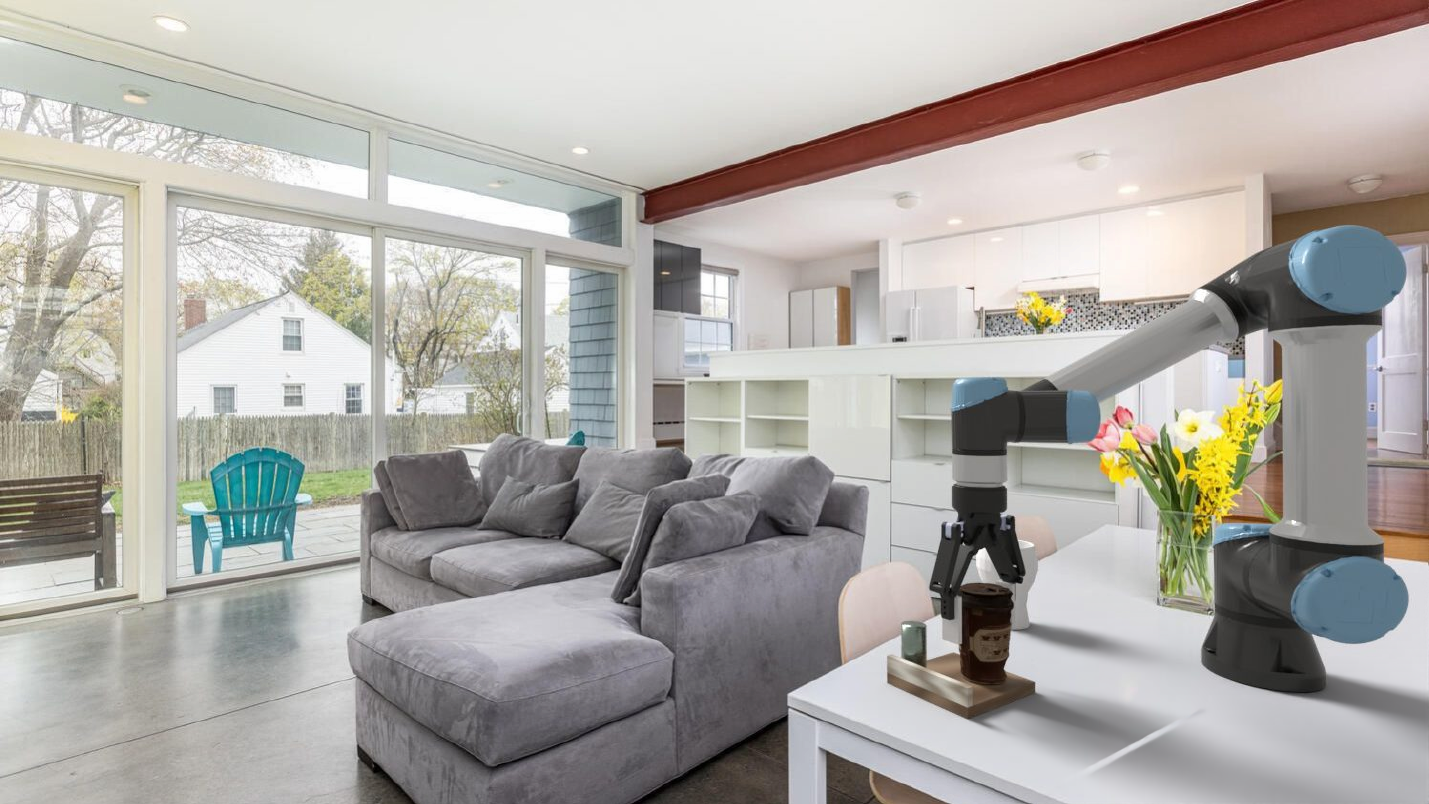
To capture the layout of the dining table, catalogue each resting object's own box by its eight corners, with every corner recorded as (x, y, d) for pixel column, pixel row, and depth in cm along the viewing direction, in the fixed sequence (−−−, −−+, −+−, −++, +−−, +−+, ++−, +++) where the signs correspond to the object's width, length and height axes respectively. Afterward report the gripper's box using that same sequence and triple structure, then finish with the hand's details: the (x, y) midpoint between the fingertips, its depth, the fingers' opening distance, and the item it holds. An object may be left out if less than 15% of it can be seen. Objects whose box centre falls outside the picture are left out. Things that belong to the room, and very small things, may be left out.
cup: (1030, 636, 122) (1030, 551, 122) (968, 625, 128) (968, 544, 128) (1044, 621, 130) (1043, 541, 130) (985, 611, 137) (985, 535, 137)
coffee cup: (1030, 683, 98) (1030, 592, 98) (985, 694, 95) (985, 599, 95) (983, 662, 106) (983, 577, 106) (940, 671, 103) (940, 583, 103)
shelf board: (1035, 692, 99) (1035, 664, 99) (967, 718, 91) (967, 688, 91) (953, 661, 111) (953, 636, 111) (887, 682, 102) (887, 655, 102)
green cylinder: (931, 673, 102) (931, 625, 102) (915, 678, 100) (915, 630, 100) (912, 665, 105) (912, 619, 105) (896, 670, 103) (896, 623, 103)
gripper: (1006, 476, 110) (1006, 612, 110) (902, 486, 97) (902, 641, 97) (1051, 480, 104) (1051, 625, 104) (946, 492, 91) (946, 658, 91)
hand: (979, 633), depth 101 cm, fingers open, 11 cm apart
